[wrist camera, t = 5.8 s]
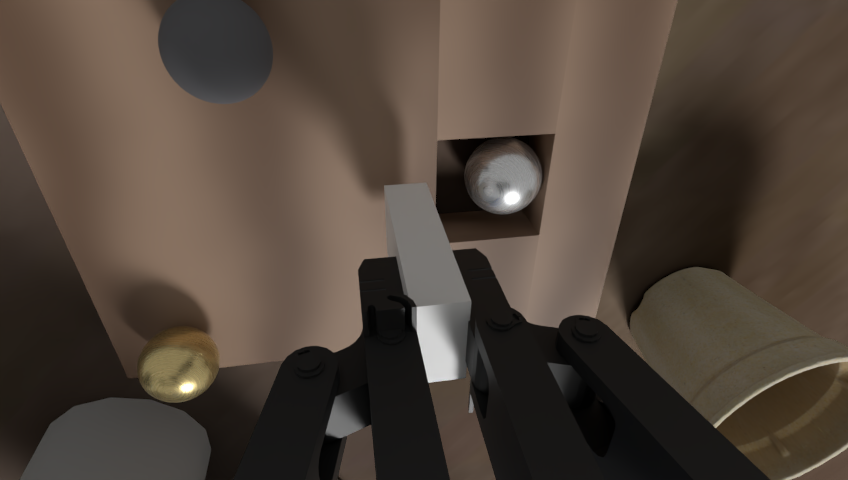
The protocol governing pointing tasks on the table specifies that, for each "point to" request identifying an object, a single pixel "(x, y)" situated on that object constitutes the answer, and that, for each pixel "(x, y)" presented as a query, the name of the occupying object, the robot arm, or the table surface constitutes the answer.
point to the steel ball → (503, 175)
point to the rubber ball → (215, 49)
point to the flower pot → (747, 369)
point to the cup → (121, 444)
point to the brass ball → (178, 364)
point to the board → (323, 155)
